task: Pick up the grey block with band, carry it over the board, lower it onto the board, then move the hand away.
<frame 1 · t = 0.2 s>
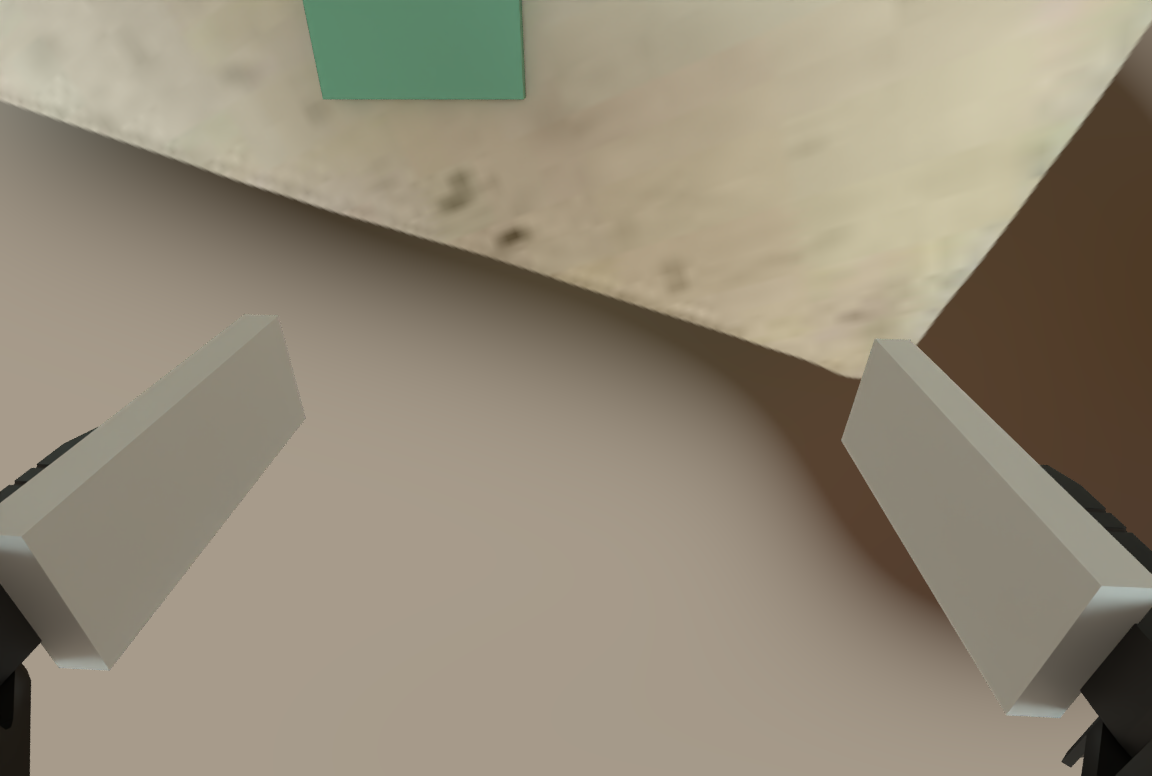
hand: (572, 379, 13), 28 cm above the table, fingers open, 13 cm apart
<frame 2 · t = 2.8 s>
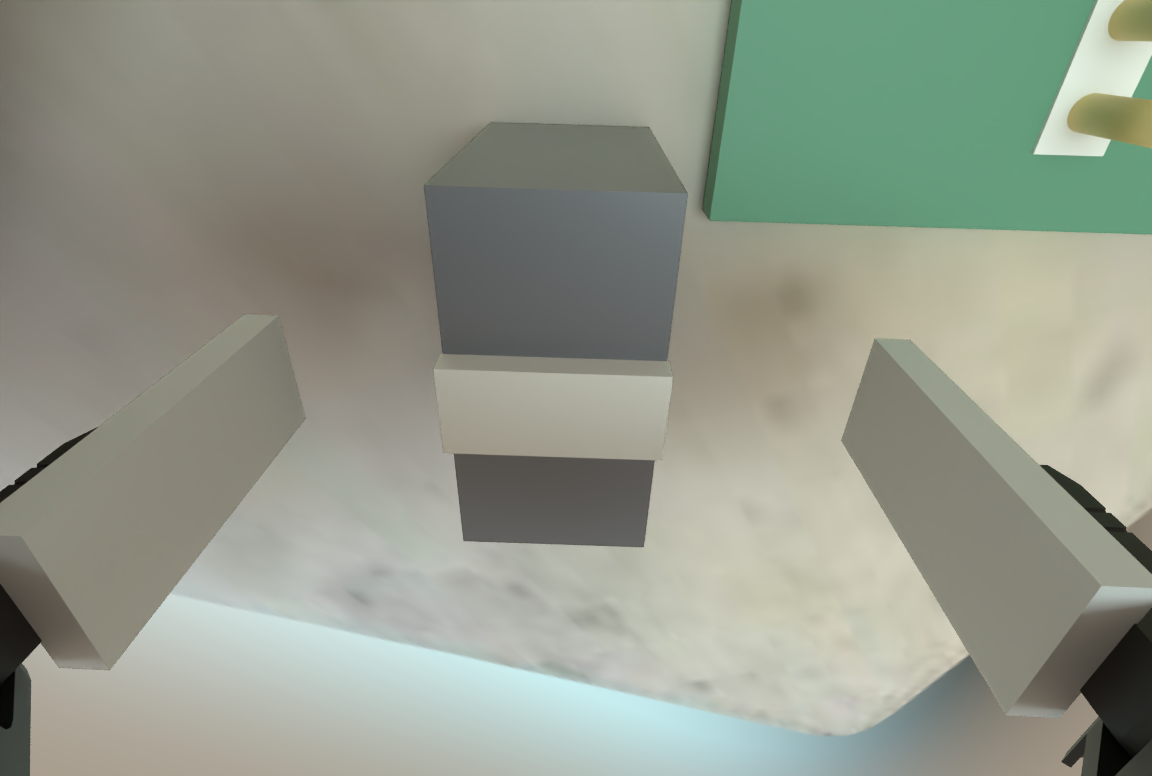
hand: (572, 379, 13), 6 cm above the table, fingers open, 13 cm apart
grey block with band: (567, 268, 18), on the table
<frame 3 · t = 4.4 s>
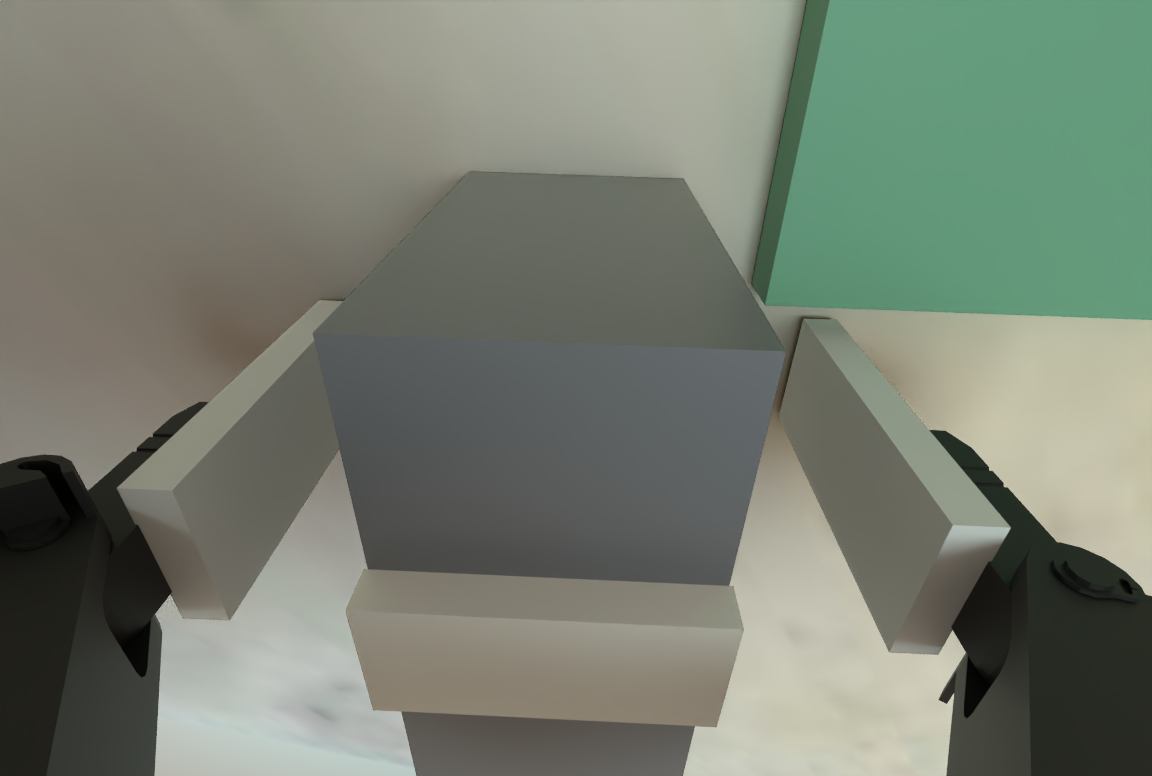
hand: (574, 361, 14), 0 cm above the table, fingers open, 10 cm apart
grey block with band: (571, 355, 14), on the table
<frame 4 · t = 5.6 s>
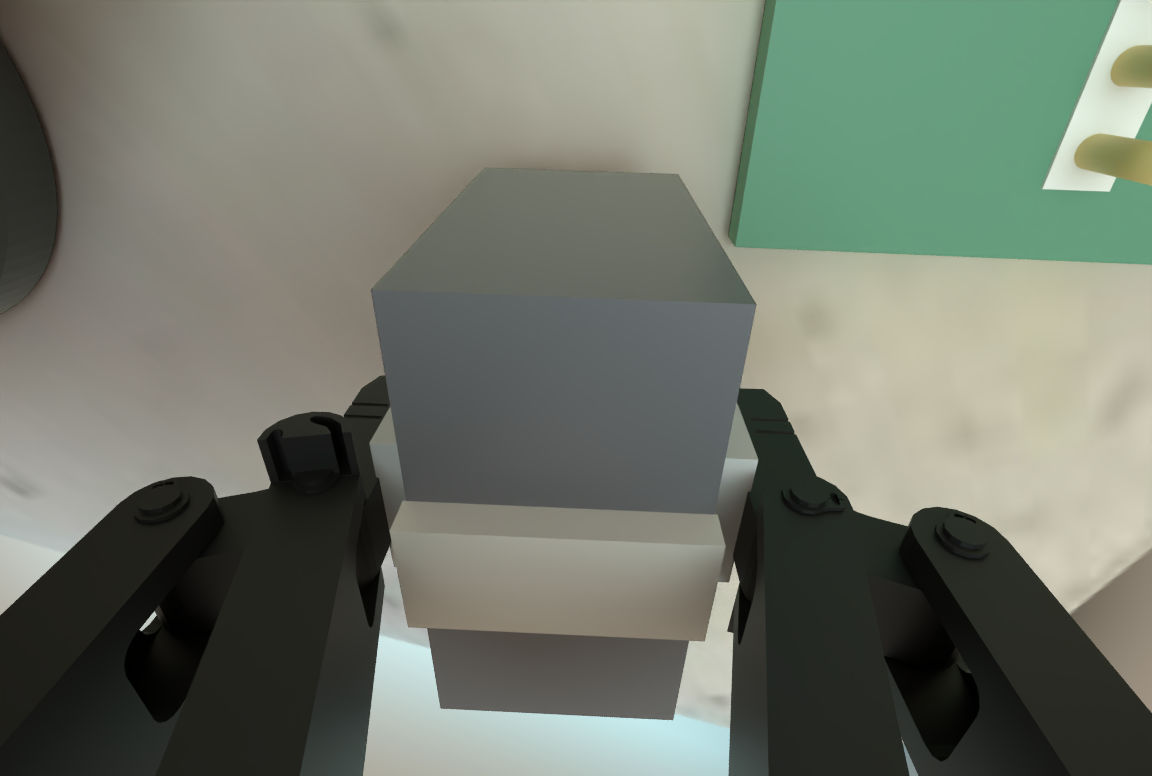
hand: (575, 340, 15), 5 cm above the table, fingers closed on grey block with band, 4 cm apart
board: (1072, 20, 15), on the table
grey block with band: (576, 337, 15), point 5 cm above the table, touching gripper
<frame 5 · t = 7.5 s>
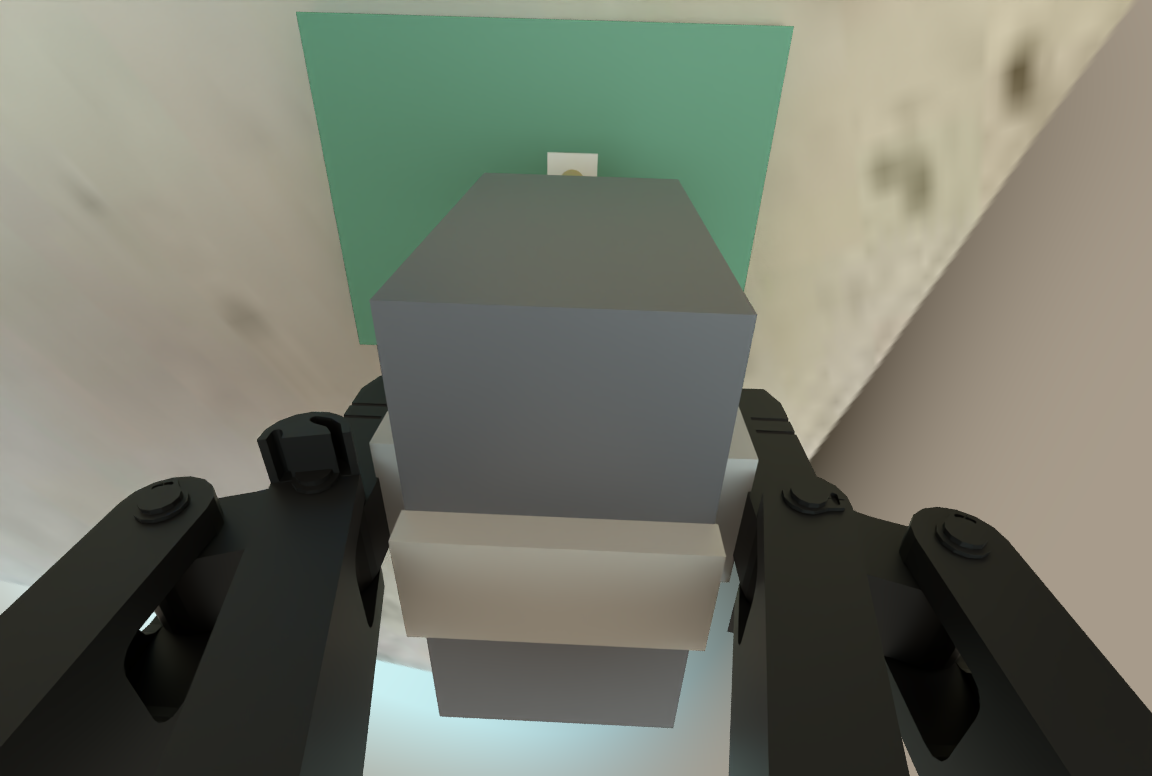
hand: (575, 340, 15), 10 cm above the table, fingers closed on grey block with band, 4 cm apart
board: (546, 200, 23), on the table
grey block with band: (576, 342, 15), point 10 cm above the table, touching gripper
when the fingers open (2 cm above the table, at t = 9.2 s): grey block with band stays where it is, resting on board.
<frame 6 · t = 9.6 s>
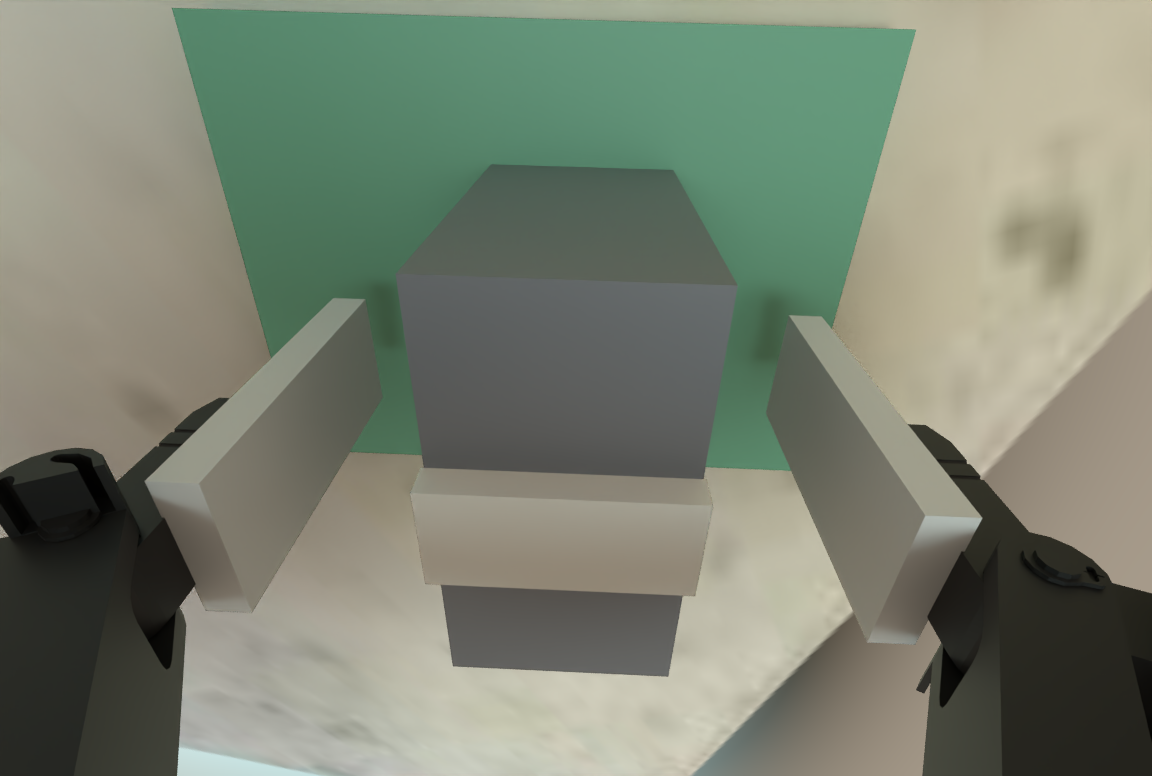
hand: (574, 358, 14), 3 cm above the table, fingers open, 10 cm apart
board: (545, 268, 16), on the table
grey block with band: (577, 325, 16), point 1 cm above the table, touching board
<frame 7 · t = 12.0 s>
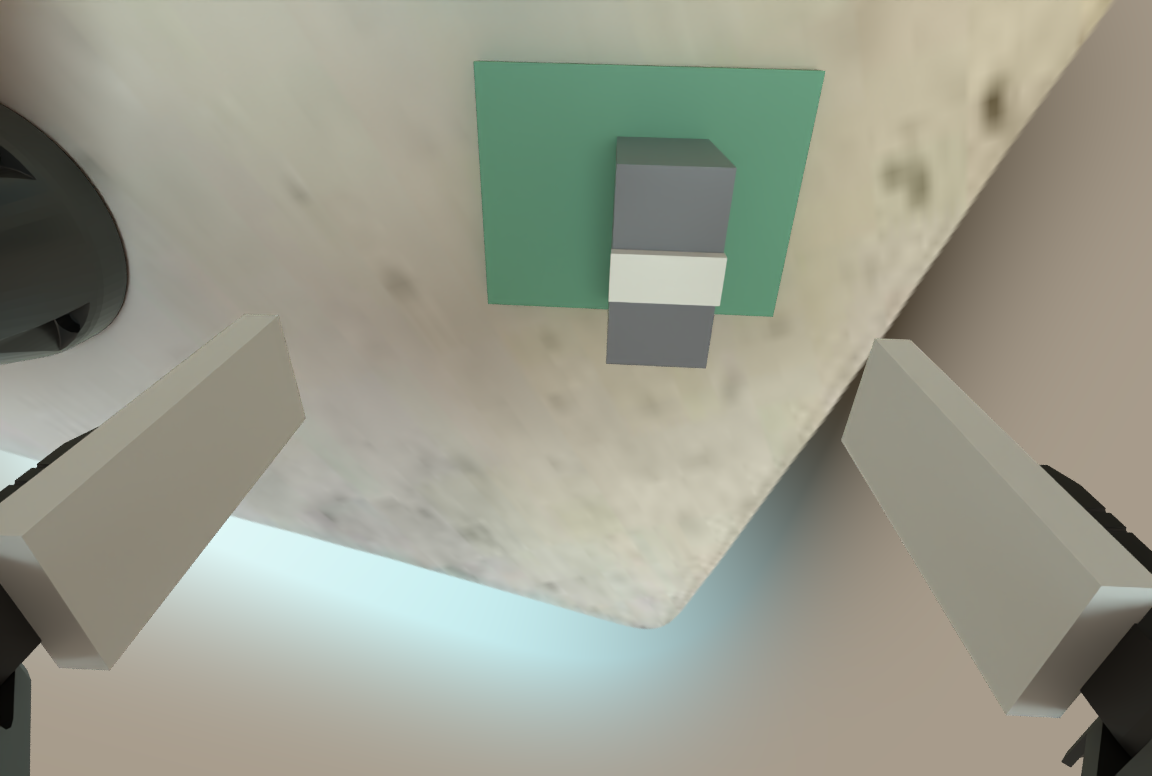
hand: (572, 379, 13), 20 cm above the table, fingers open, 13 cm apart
board: (636, 195, 30), on the table
grey block with band: (654, 225, 30), point 1 cm above the table, touching board
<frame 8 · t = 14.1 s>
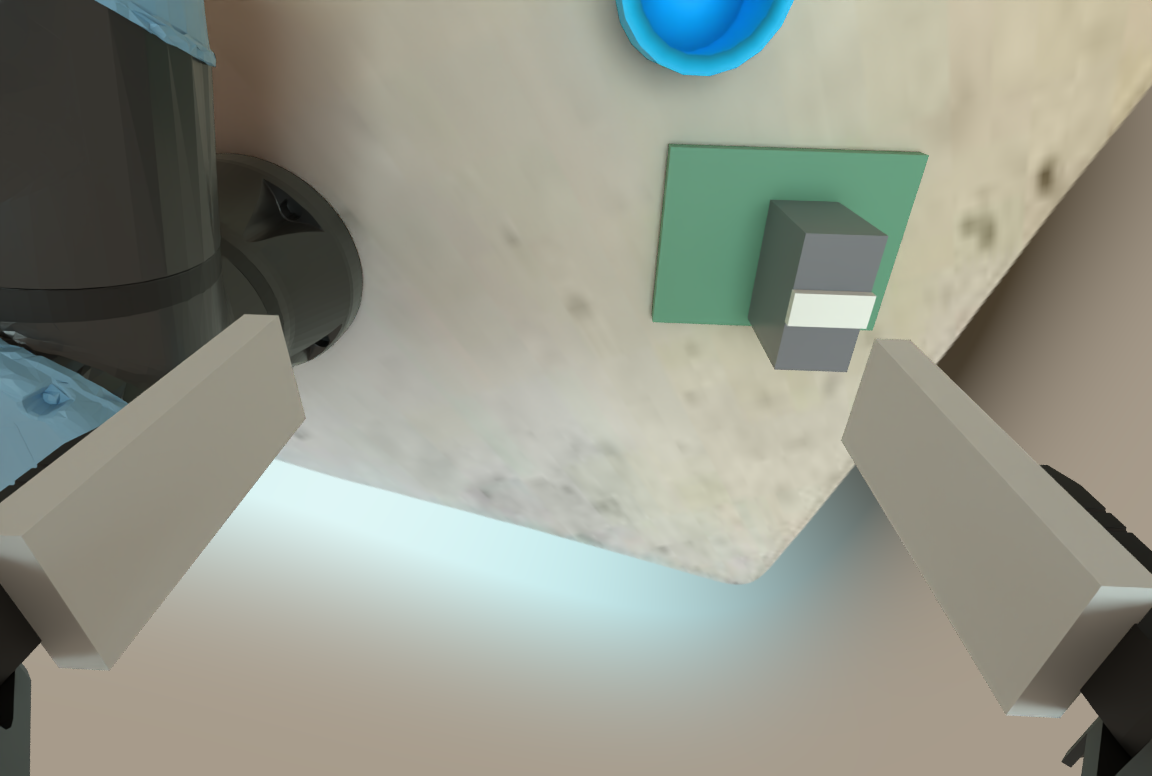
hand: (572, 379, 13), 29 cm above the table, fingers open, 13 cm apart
board: (774, 240, 40), on the table
grey block with band: (790, 263, 40), point 1 cm above the table, touching board
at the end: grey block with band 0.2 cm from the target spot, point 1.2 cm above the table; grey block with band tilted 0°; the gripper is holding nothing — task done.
